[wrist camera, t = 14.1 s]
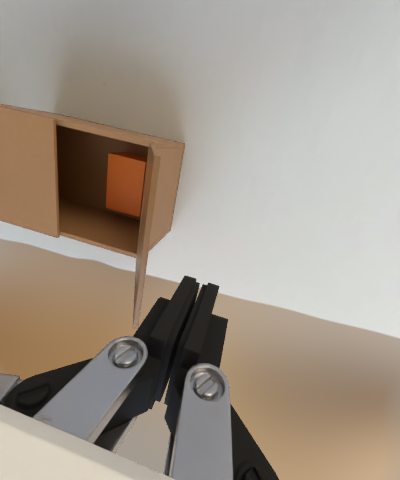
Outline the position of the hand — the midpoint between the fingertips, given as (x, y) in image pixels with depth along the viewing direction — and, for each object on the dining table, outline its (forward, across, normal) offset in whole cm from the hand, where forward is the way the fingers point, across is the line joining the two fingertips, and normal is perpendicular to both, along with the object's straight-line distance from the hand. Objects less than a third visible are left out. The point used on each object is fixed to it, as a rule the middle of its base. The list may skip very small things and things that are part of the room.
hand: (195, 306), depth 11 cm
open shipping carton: (+21, +17, 0) cm, 27 cm away
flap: (+7, +6, 0) cm, 9 cm away
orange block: (+20, +13, 0) cm, 24 cm away
